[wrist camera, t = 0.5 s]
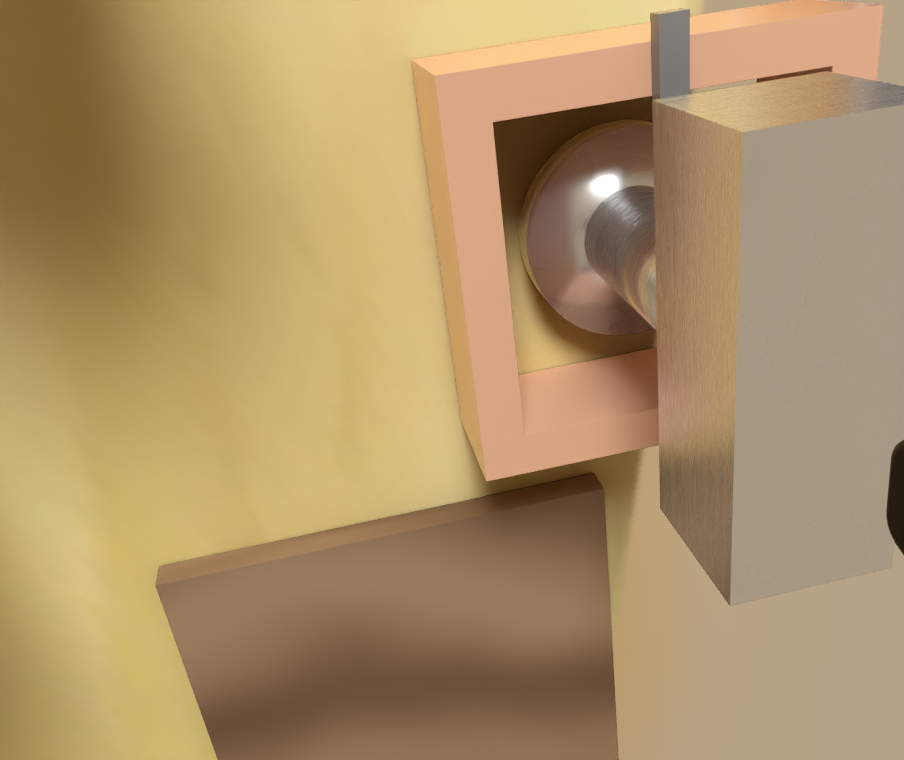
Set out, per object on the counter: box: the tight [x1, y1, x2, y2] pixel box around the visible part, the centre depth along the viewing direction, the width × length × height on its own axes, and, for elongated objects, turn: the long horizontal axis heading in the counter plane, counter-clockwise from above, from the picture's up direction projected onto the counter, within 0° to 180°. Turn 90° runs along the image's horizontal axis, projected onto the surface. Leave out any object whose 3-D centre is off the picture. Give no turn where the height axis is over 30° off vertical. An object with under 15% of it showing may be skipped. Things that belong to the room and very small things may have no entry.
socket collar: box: [411, 0, 884, 482], centre depth 19 cm, size 10×9×3 cm
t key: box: [519, 71, 904, 606], centre depth 17 cm, size 8×5×9 cm, turn 8°
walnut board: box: [156, 473, 619, 760], centre depth 26 cm, size 12×12×1 cm
